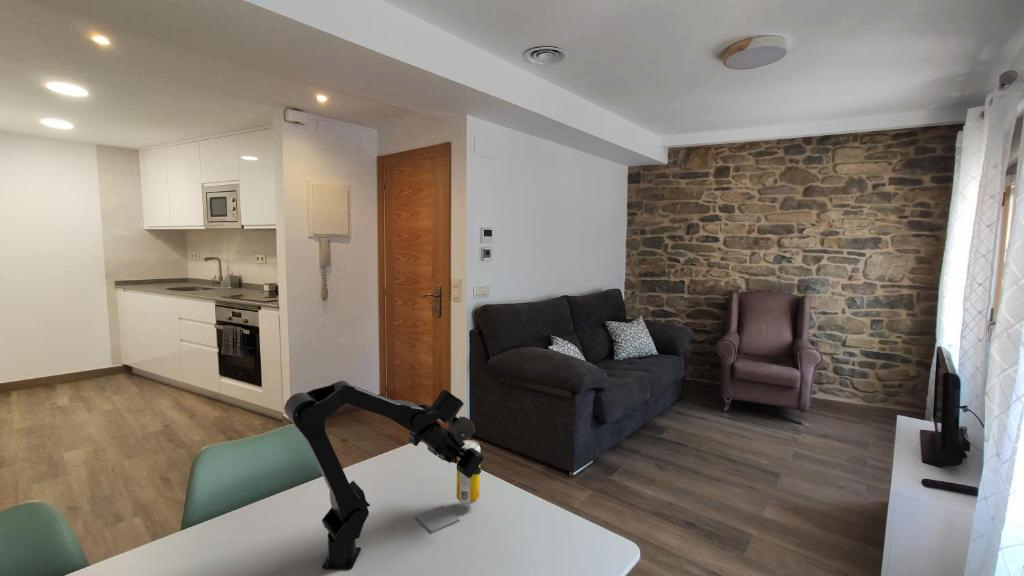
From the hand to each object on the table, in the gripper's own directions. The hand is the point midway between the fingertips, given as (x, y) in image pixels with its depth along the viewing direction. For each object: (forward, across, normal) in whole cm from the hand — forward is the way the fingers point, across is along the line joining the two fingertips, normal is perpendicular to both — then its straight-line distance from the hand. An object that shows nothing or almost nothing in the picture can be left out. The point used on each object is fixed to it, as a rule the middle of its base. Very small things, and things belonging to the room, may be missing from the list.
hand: (472, 468), depth 123 cm
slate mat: (0, 0, +15) cm, 15 cm away
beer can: (+5, 0, +7) cm, 8 cm away
